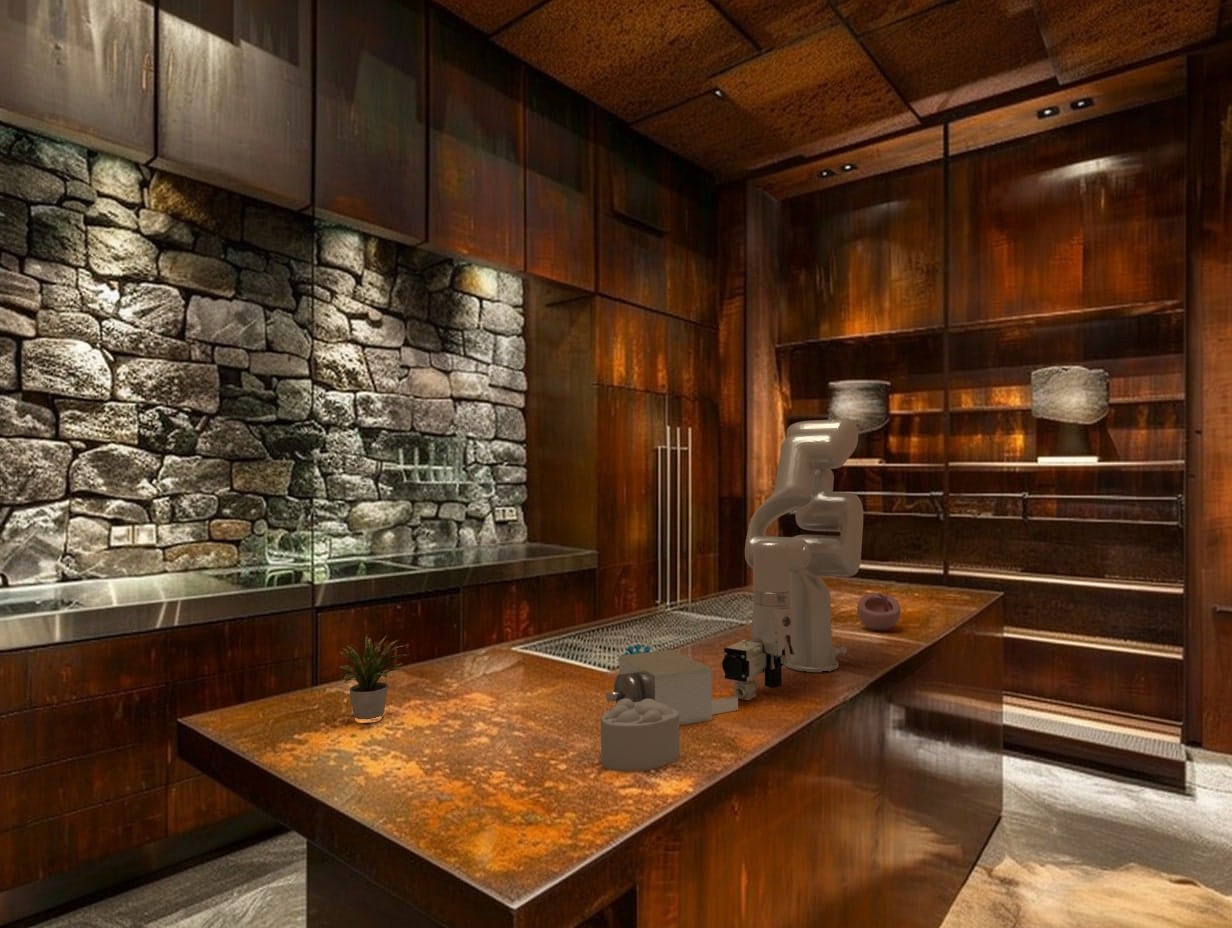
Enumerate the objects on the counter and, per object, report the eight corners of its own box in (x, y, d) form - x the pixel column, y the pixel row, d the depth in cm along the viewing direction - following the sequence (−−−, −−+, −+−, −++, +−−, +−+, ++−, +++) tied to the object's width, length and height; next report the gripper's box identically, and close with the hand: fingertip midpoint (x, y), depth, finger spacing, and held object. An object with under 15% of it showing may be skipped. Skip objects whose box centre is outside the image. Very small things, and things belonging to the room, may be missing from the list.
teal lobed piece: (631, 681, 154) (620, 641, 161) (620, 695, 157) (610, 656, 164) (674, 681, 159) (662, 643, 166) (663, 695, 162) (651, 657, 169)
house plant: (371, 738, 125) (371, 646, 126) (310, 730, 130) (310, 641, 131) (420, 713, 139) (419, 630, 139) (363, 706, 144) (362, 626, 144)
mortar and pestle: (861, 634, 204) (860, 594, 204) (854, 625, 216) (853, 588, 216) (905, 635, 202) (904, 595, 202) (895, 626, 214) (894, 588, 214)
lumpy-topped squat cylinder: (688, 758, 115) (687, 705, 115) (624, 778, 108) (623, 721, 108) (648, 739, 124) (647, 690, 124) (586, 757, 116) (586, 704, 116)
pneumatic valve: (721, 703, 143) (720, 644, 143) (747, 689, 152) (746, 633, 152) (746, 708, 140) (745, 647, 140) (771, 693, 149) (770, 636, 149)
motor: (702, 691, 151) (701, 645, 151) (745, 714, 136) (744, 663, 136) (592, 708, 140) (591, 659, 141) (625, 734, 126) (624, 679, 126)
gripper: (809, 603, 144) (811, 693, 143) (765, 592, 157) (766, 675, 157) (779, 606, 141) (781, 698, 140) (736, 595, 154) (738, 679, 154)
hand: (773, 686), depth 149 cm, fingers closed
